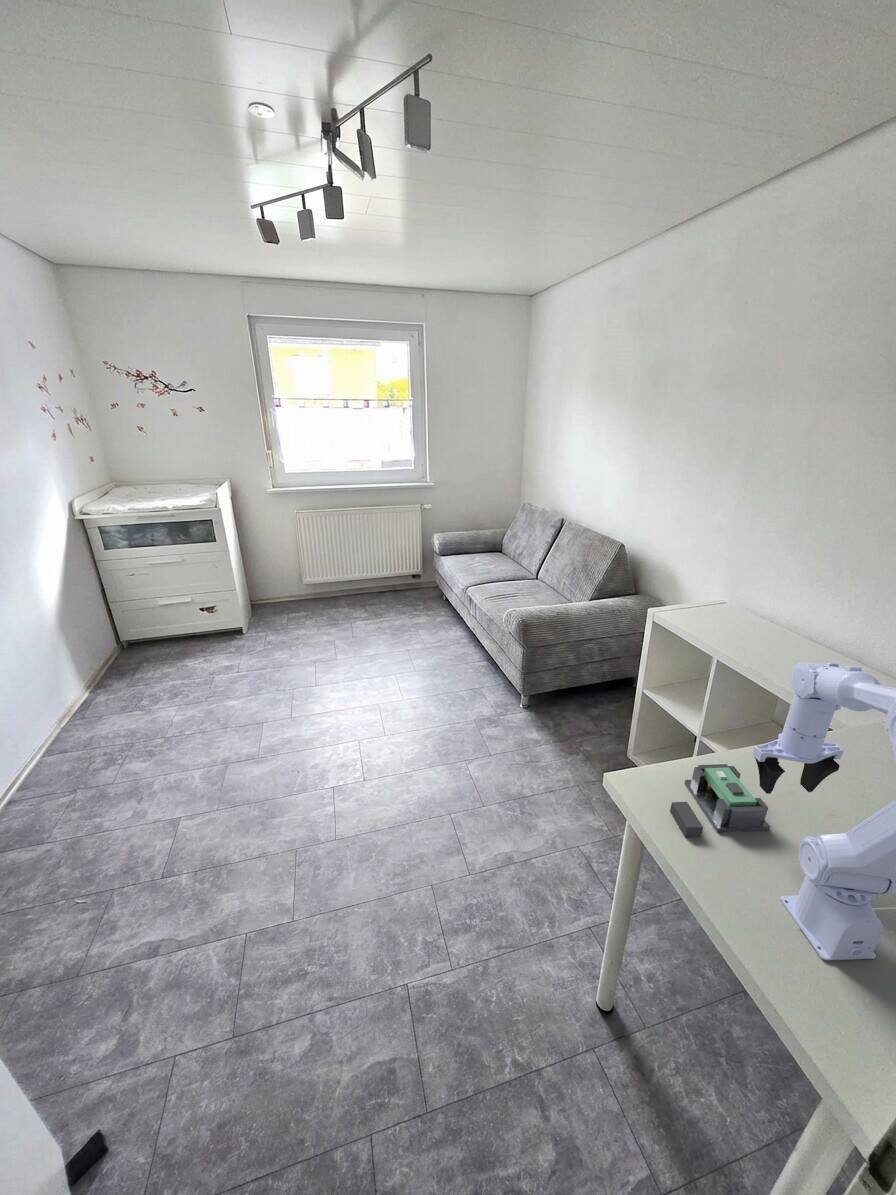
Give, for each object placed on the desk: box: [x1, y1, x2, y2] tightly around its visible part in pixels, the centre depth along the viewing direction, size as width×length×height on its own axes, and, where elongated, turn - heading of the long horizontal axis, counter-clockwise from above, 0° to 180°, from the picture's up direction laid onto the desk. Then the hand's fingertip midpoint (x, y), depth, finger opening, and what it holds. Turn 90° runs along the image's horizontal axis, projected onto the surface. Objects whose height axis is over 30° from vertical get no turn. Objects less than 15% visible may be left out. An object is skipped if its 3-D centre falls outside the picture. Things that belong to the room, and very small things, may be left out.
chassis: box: [684, 763, 771, 833], centre depth 94 cm, size 10×12×5 cm
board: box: [704, 767, 757, 808], centre depth 93 cm, size 5×9×3 cm, turn 2°
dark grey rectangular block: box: [669, 801, 704, 838], centre depth 90 cm, size 6×3×2 cm, turn 2°
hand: (785, 788), depth 86 cm, fingers open, 7 cm apart
